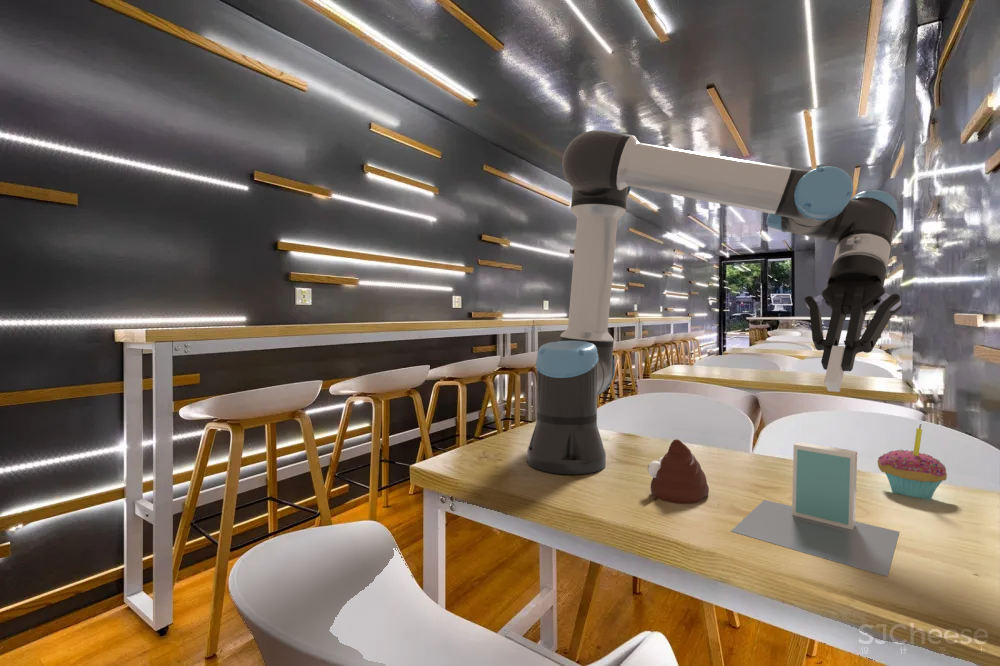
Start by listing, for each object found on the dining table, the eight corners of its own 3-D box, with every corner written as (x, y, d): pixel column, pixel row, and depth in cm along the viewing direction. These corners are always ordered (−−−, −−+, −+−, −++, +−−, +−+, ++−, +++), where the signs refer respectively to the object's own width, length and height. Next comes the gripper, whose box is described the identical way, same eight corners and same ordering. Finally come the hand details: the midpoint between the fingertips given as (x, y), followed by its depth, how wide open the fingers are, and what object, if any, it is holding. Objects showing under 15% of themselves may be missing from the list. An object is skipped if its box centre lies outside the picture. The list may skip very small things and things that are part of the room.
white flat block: (791, 515, 68) (793, 444, 68) (795, 510, 70) (797, 441, 70) (852, 530, 64) (854, 454, 63) (855, 525, 65) (857, 451, 65)
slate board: (730, 535, 63) (730, 531, 63) (764, 503, 74) (764, 499, 74) (887, 581, 52) (887, 576, 52) (899, 536, 63) (899, 531, 63)
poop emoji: (692, 513, 71) (693, 449, 70) (638, 498, 77) (639, 439, 76) (717, 495, 78) (718, 437, 78) (666, 482, 84) (667, 428, 83)
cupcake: (960, 508, 73) (963, 428, 72) (895, 503, 74) (898, 425, 74) (923, 488, 81) (925, 416, 81) (865, 484, 83) (867, 414, 82)
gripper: (808, 256, 84) (777, 369, 75) (906, 248, 74) (883, 376, 65) (818, 284, 88) (789, 394, 79) (911, 280, 79) (890, 405, 69)
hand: (831, 386), depth 72 cm, fingers closed
